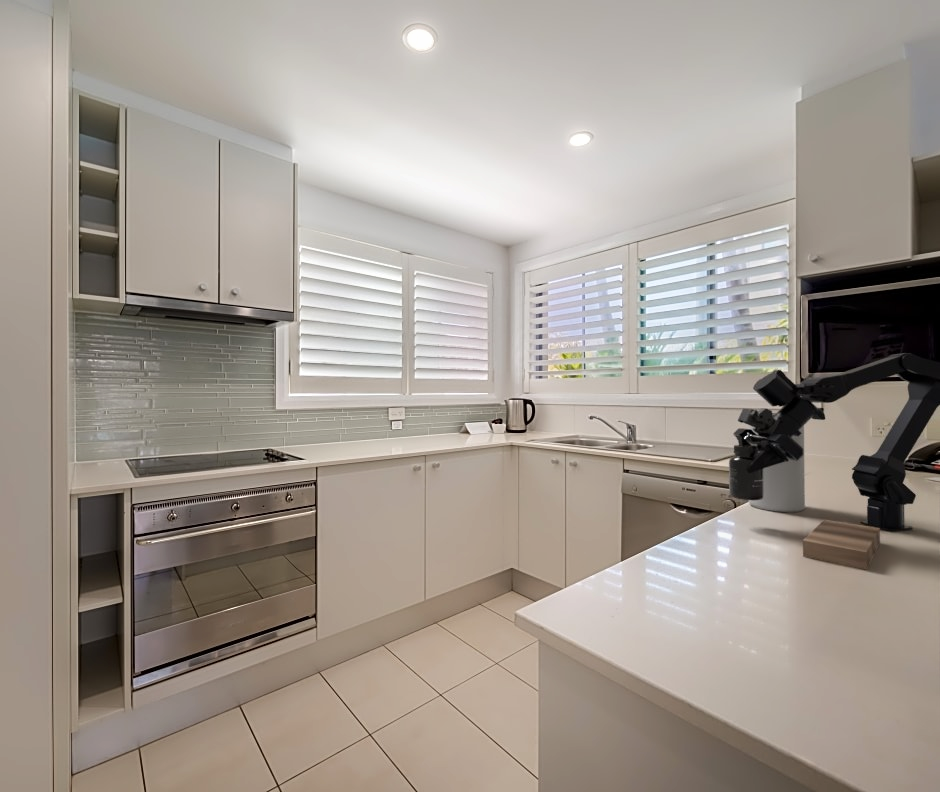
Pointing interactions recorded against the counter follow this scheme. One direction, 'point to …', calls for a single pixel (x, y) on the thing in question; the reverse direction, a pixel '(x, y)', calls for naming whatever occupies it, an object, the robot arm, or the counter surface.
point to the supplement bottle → (745, 474)
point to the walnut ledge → (842, 543)
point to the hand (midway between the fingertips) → (739, 469)
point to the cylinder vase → (784, 483)
